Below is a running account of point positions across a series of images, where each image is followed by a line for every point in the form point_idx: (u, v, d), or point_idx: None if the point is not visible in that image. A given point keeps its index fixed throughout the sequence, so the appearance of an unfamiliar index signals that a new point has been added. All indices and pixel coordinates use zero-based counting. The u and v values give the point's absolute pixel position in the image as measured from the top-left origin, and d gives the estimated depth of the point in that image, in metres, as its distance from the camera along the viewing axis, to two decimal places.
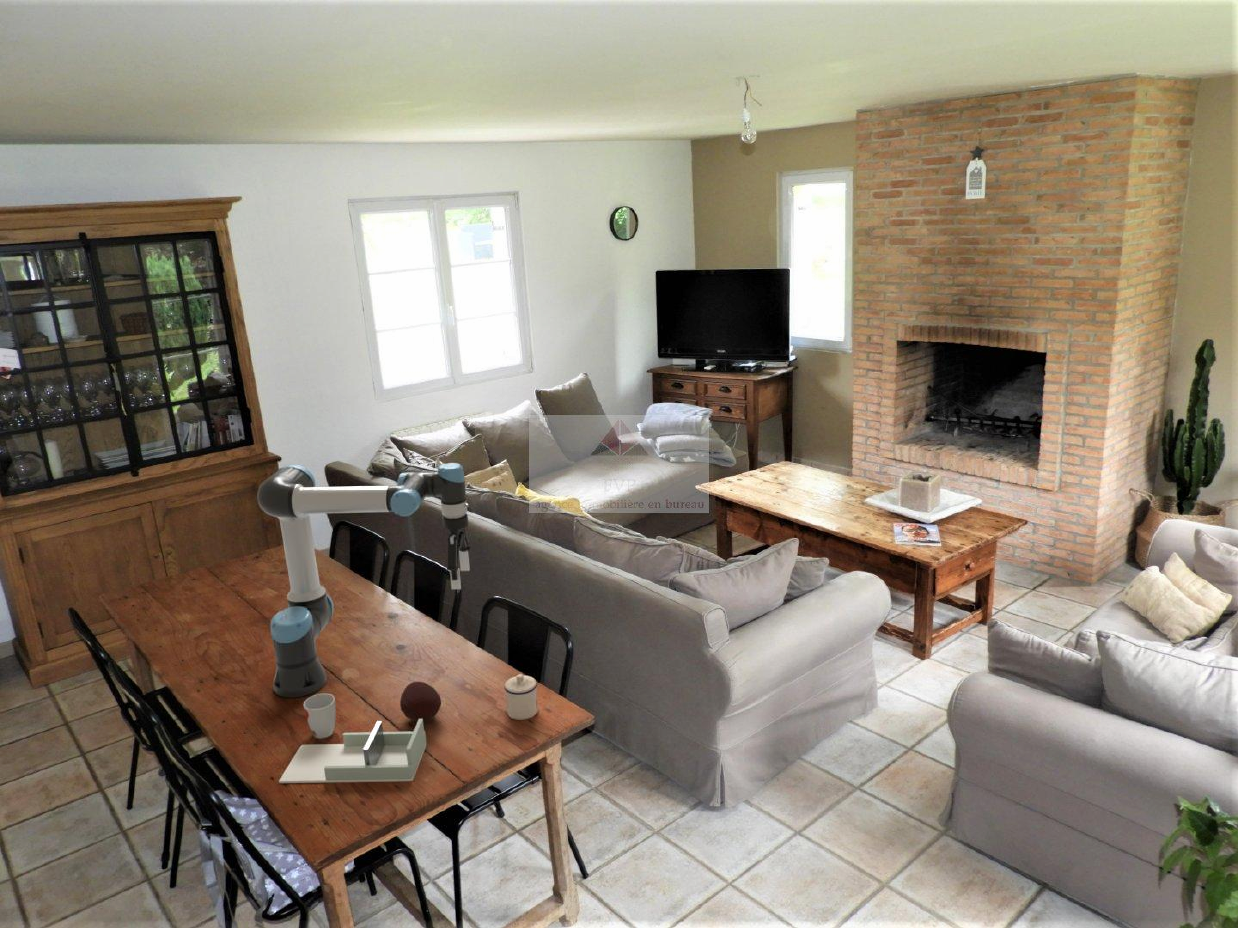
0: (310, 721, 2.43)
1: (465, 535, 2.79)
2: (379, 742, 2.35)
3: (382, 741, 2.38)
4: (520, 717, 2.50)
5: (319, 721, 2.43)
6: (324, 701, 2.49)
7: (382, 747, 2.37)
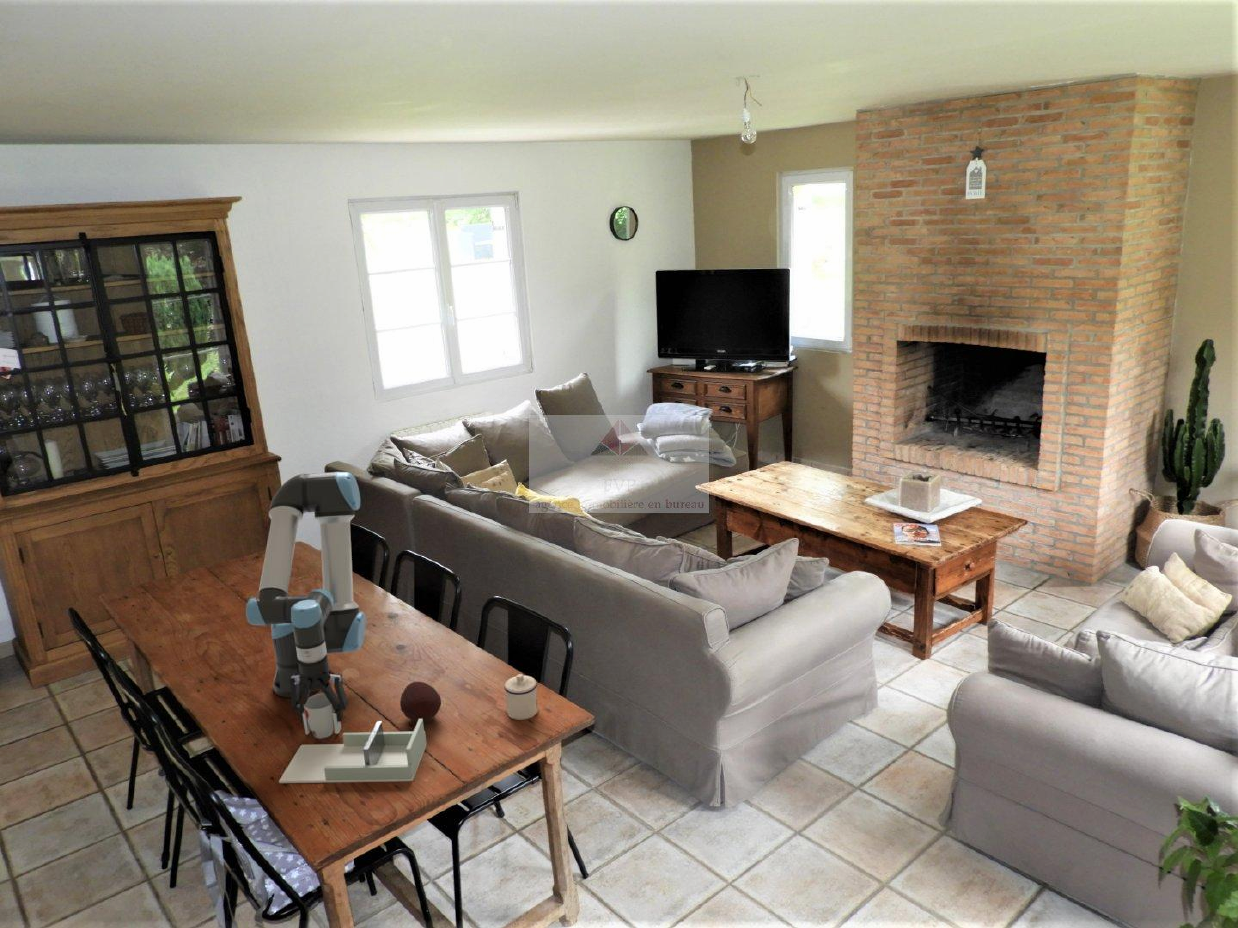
0: (310, 721, 2.43)
1: None
2: (379, 742, 2.35)
3: (382, 741, 2.38)
4: (520, 717, 2.50)
5: (319, 721, 2.43)
6: (324, 701, 2.49)
7: (382, 747, 2.37)
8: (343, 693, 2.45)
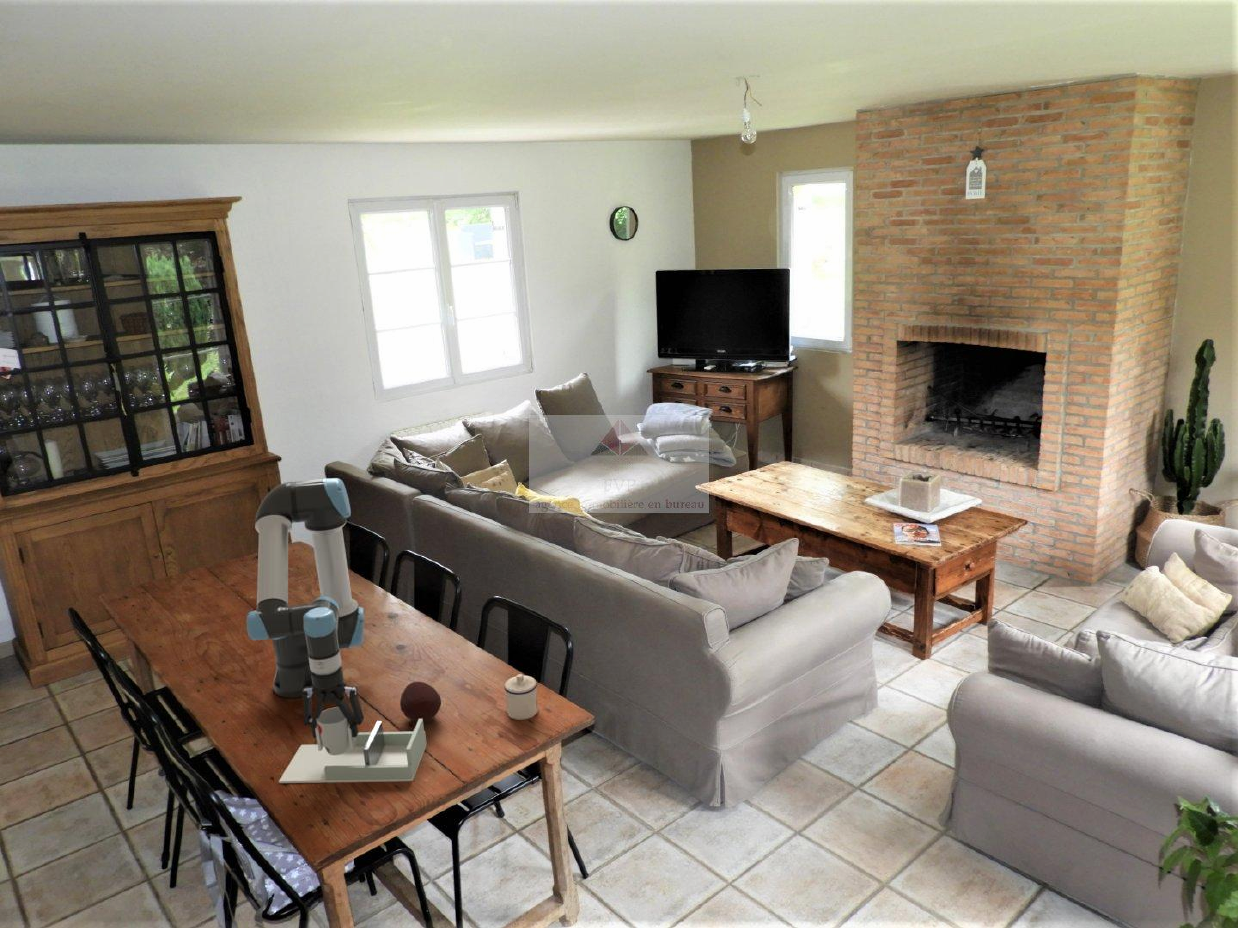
0: (324, 737, 2.28)
1: (351, 706, 2.28)
2: (379, 742, 2.35)
3: (382, 741, 2.38)
4: (520, 717, 2.50)
5: (333, 736, 2.27)
6: (338, 715, 2.34)
7: (382, 747, 2.37)
8: (358, 707, 2.29)
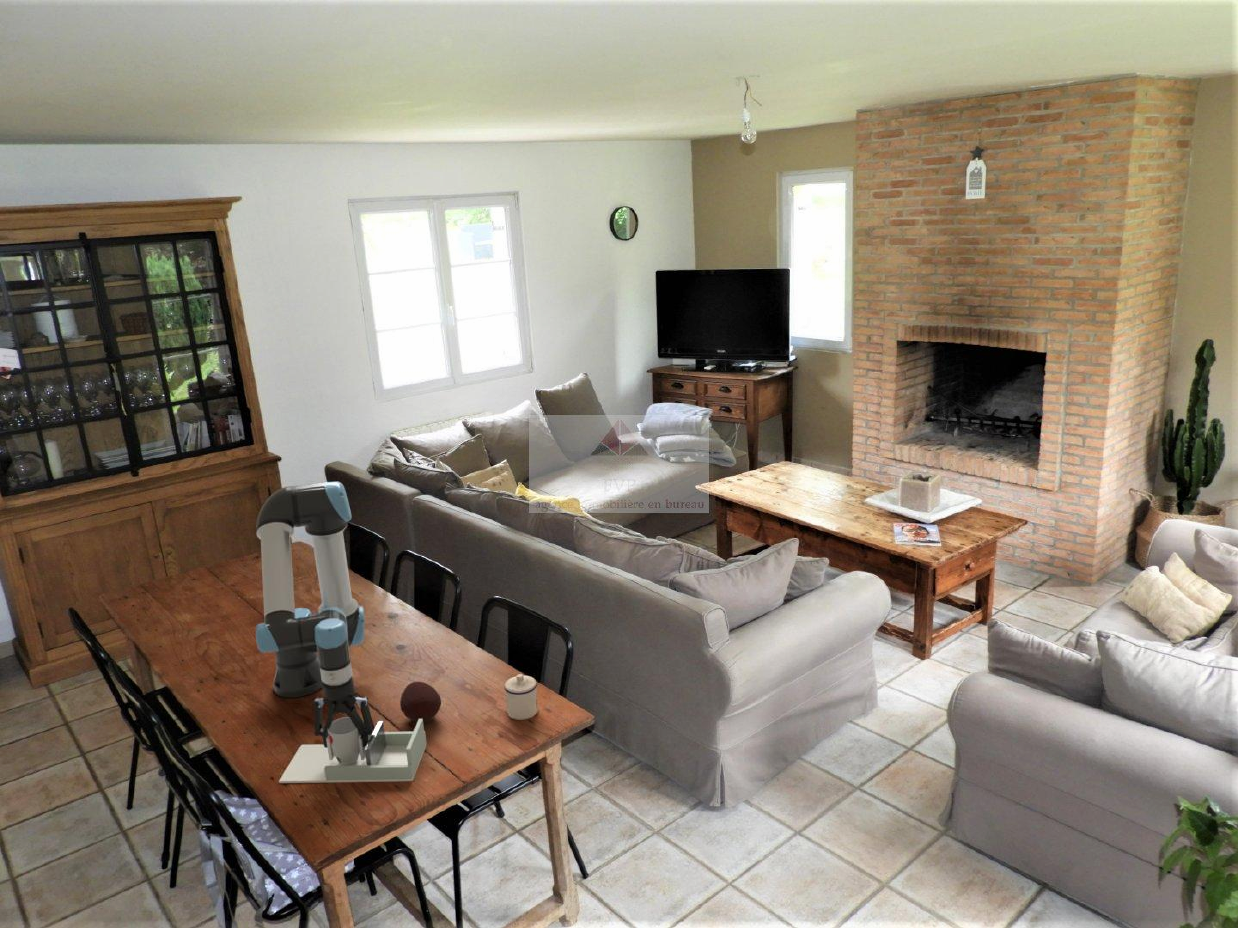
0: (335, 747, 2.29)
1: None
2: (380, 742, 2.35)
3: (383, 741, 2.38)
4: (520, 717, 2.50)
5: (344, 747, 2.28)
6: (349, 725, 2.35)
7: (383, 747, 2.37)
8: (369, 717, 2.30)
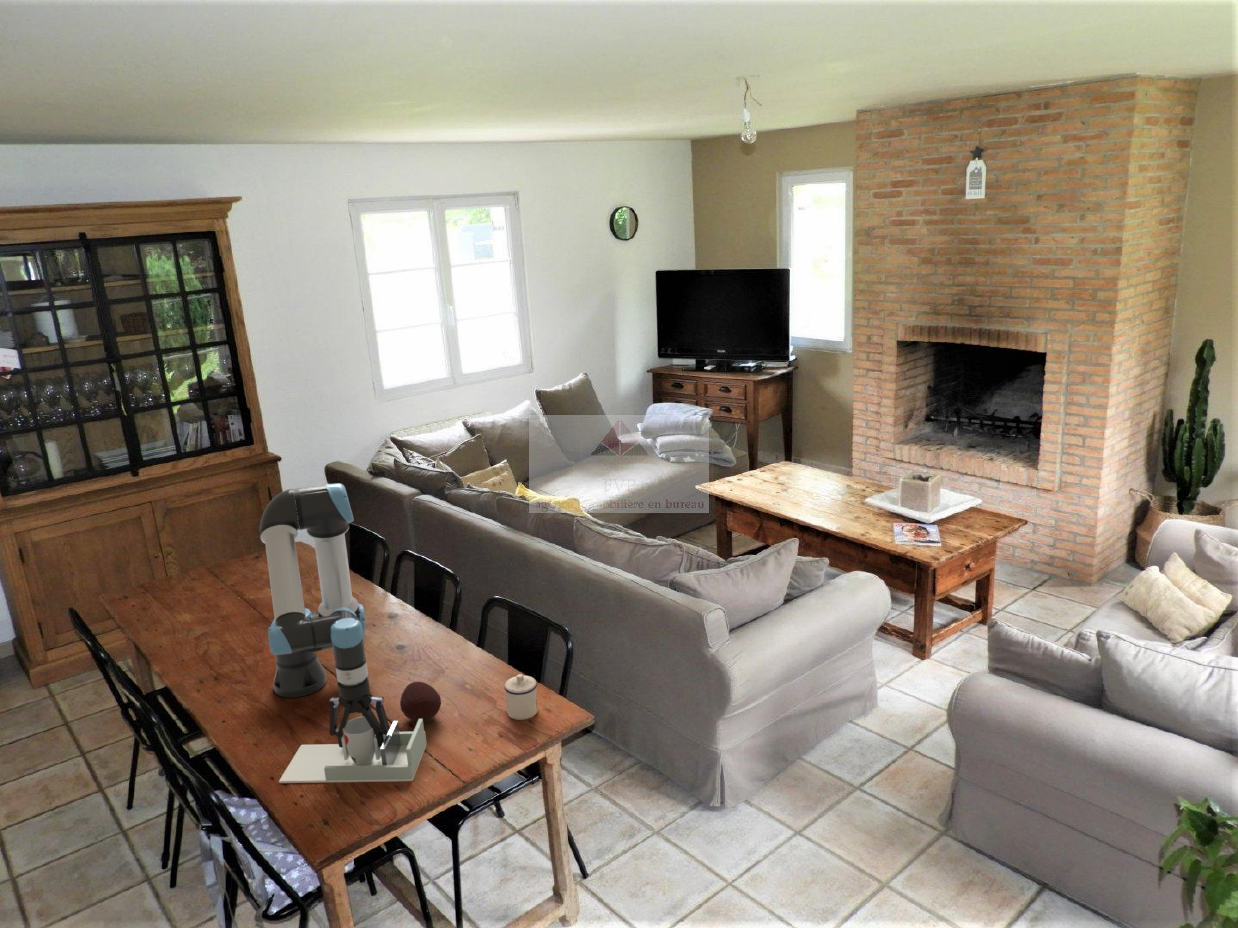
0: (350, 747, 2.29)
1: (378, 717, 2.29)
2: (395, 742, 2.35)
3: (398, 741, 2.38)
4: (520, 717, 2.50)
5: (359, 746, 2.28)
6: (364, 725, 2.35)
7: (398, 747, 2.37)
8: (385, 717, 2.30)
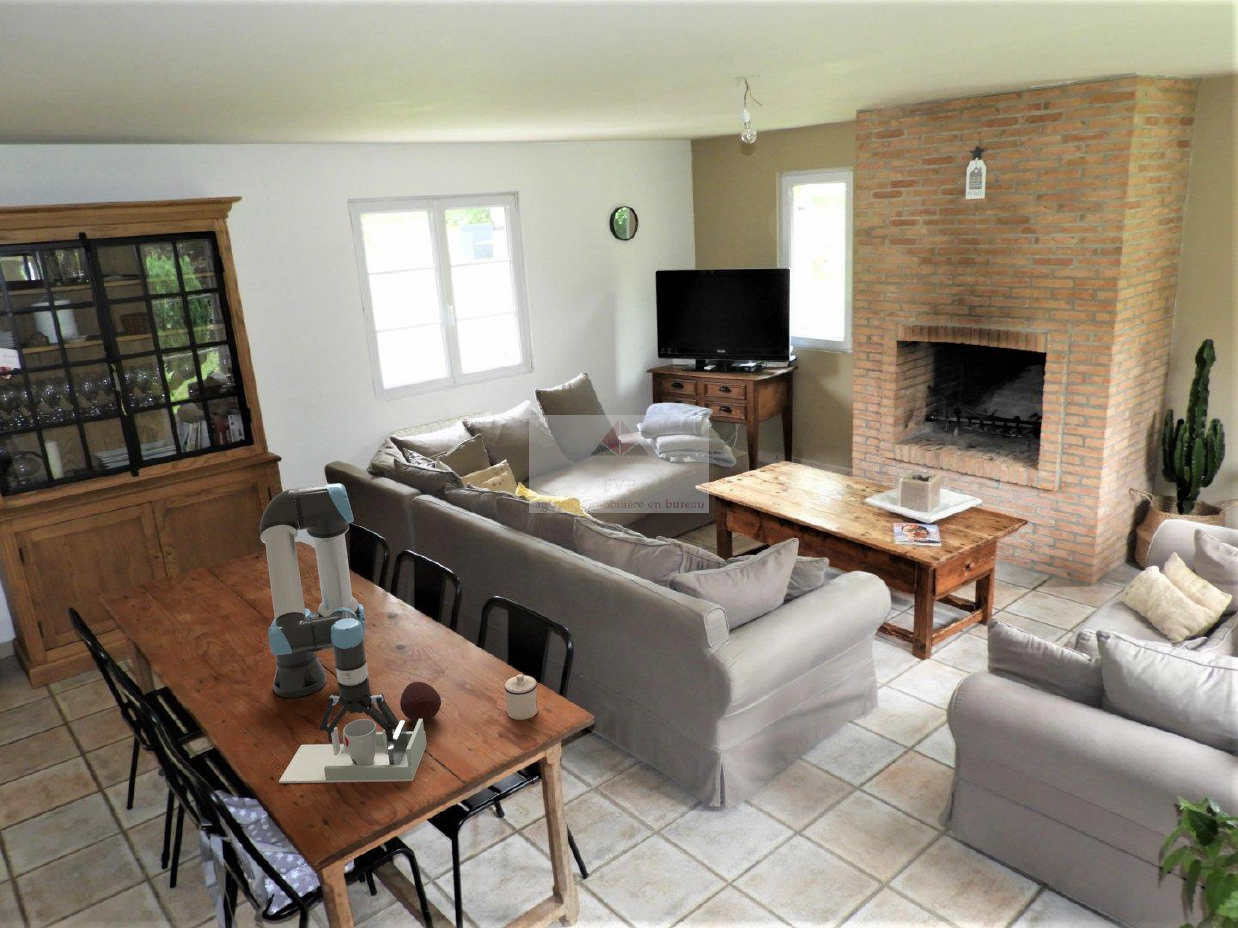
0: (351, 749, 2.29)
1: (382, 713, 2.29)
2: (402, 742, 2.35)
3: (405, 741, 2.38)
4: (520, 717, 2.50)
5: (360, 749, 2.29)
6: (364, 727, 2.35)
7: (405, 747, 2.37)
8: (390, 712, 2.30)
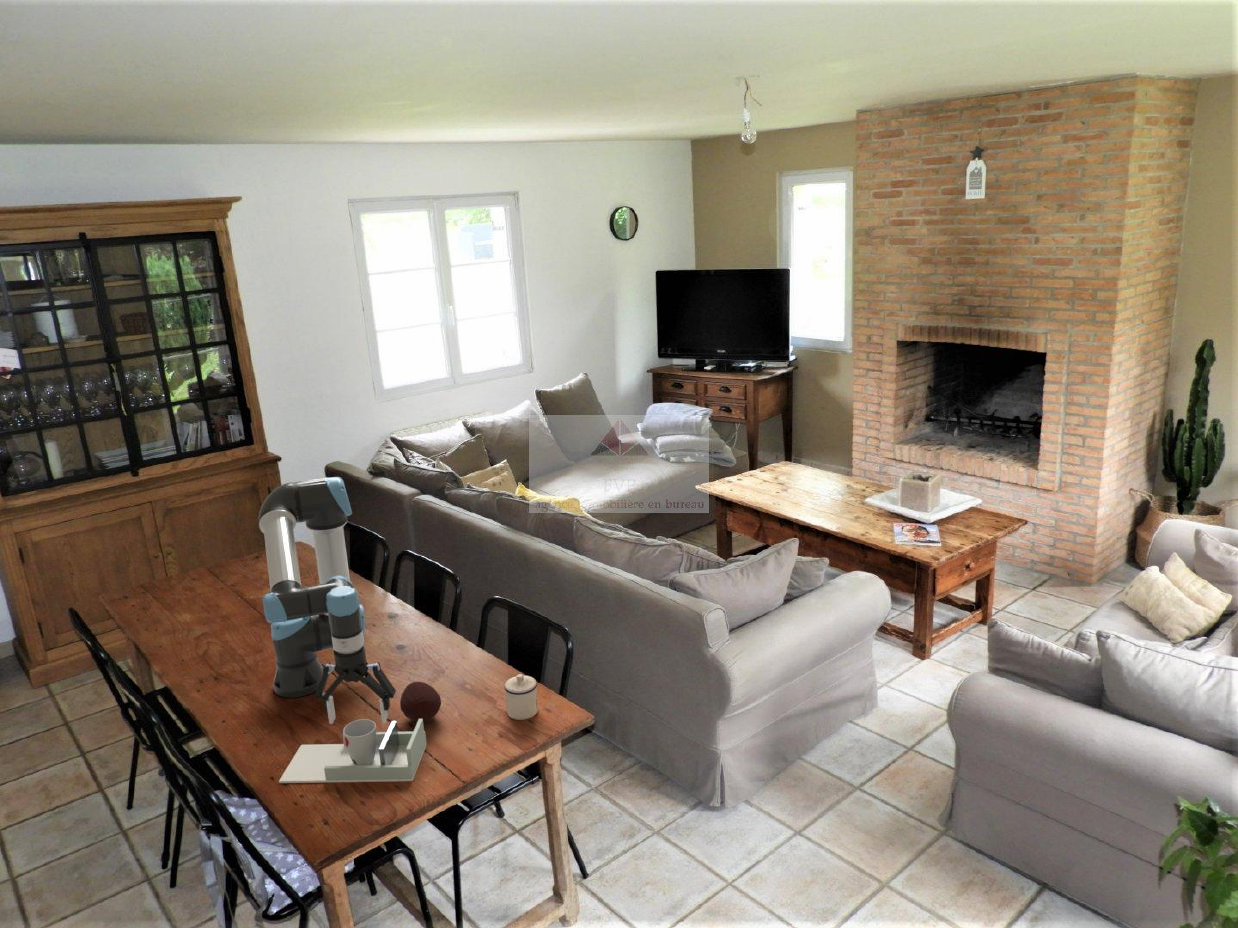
0: (351, 749, 2.29)
1: (379, 682, 2.26)
2: (394, 742, 2.35)
3: (397, 741, 2.38)
4: (520, 717, 2.50)
5: (359, 749, 2.28)
6: (364, 727, 2.35)
7: (396, 747, 2.37)
8: (386, 681, 2.27)
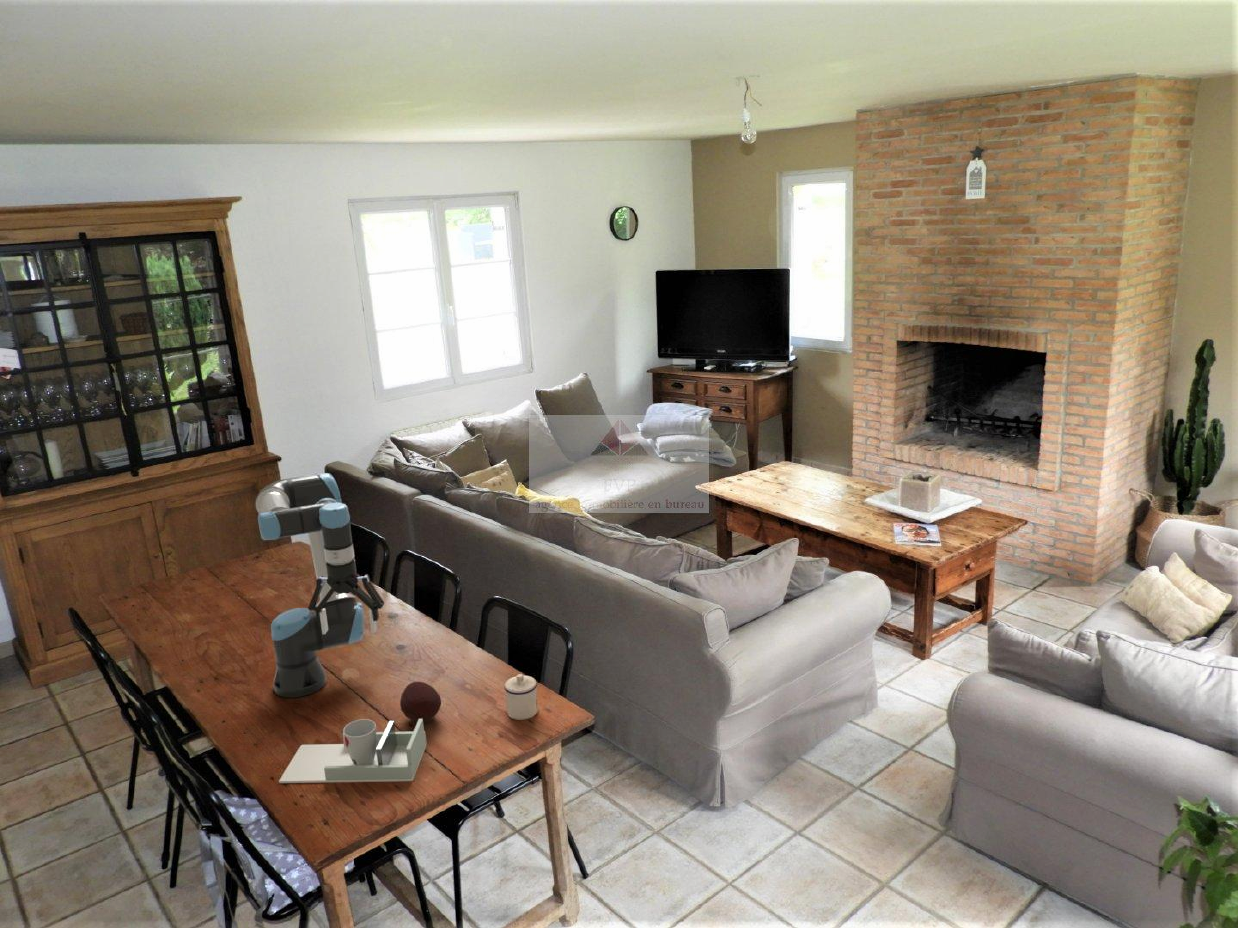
0: (351, 749, 2.29)
1: (368, 593, 2.43)
2: (391, 742, 2.35)
3: (394, 741, 2.38)
4: (520, 717, 2.50)
5: (360, 749, 2.29)
6: (364, 727, 2.35)
7: (394, 747, 2.37)
8: (375, 592, 2.44)
